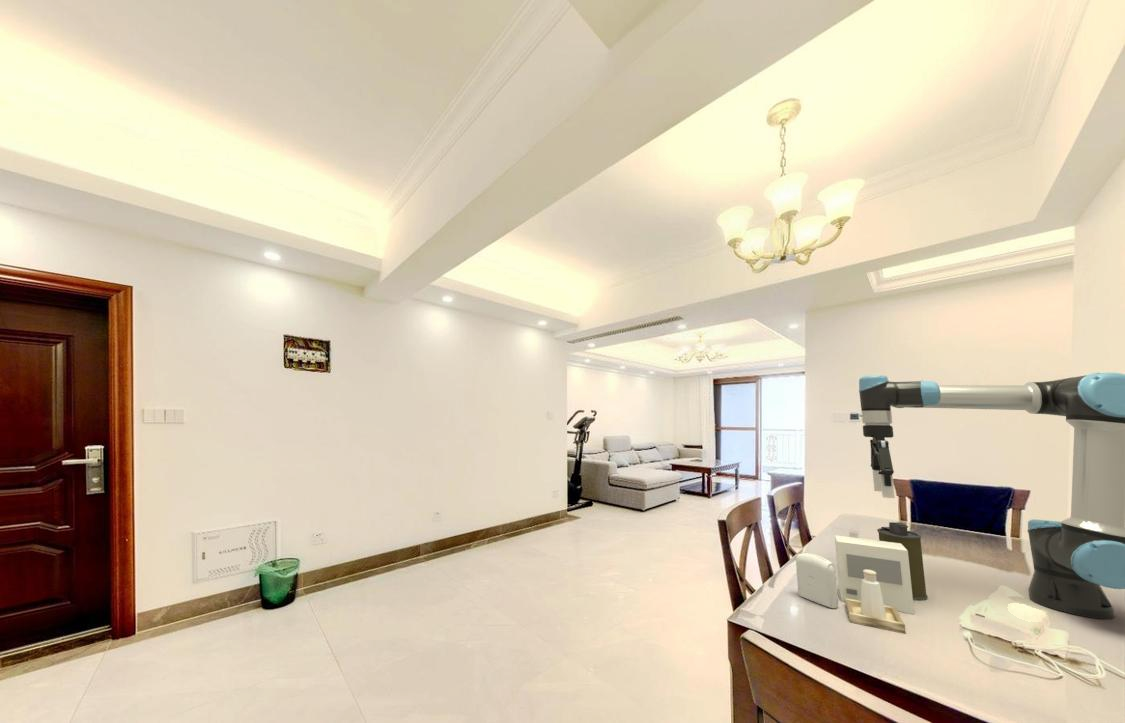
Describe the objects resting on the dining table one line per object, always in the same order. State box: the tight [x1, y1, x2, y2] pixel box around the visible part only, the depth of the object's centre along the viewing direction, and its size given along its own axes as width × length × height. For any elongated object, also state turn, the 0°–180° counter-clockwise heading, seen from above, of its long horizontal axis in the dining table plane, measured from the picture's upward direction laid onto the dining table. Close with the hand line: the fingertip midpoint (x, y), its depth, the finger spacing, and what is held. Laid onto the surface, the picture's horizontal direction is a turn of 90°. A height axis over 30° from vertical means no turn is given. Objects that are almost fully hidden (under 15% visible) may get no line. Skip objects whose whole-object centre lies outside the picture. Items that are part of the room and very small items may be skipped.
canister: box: [877, 521, 929, 601], centre depth 124 cm, size 11×10×20 cm
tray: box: [844, 598, 907, 635], centre depth 106 cm, size 11×11×2 cm
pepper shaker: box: [861, 569, 887, 619], centre depth 106 cm, size 5×5×11 cm
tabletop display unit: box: [834, 534, 915, 615], centre depth 117 cm, size 16×9×16 cm, turn 61°
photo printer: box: [795, 552, 839, 609], centre depth 116 cm, size 10×4×12 cm, turn 26°
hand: (884, 494), depth 126 cm, fingers open, 13 cm apart
